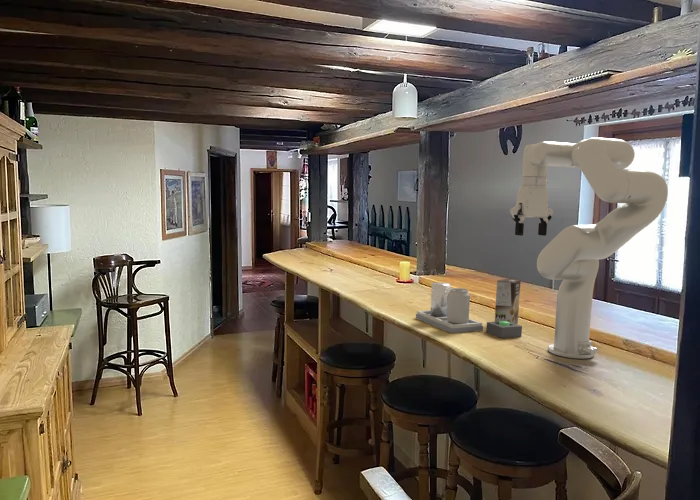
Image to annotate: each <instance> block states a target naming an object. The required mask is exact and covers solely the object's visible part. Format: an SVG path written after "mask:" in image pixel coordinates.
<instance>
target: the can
mask: <svg viewBox="0 0 700 500" xmlns="http://www.w3.org/2000/svg"><path fill="white" fill-rule="evenodd" d="M470 301H471V294H470V293H469V289H467V288H461V287H456V288H455V287H451V289H450V292H449V293H448V306H447V321H448V322H449V323H451V324H453V325H454V324H467V323H468V322H469V319H470V305H471V303H470Z"/></svg>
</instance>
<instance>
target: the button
mask: <svg viewBox="0 0 700 500" xmlns="http://www.w3.org/2000/svg"><path fill="white" fill-rule="evenodd" d="M499 325H502V326H510V322H507V321H499Z"/></svg>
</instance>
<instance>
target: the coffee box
mask: <svg viewBox="0 0 700 500" xmlns="http://www.w3.org/2000/svg"><path fill="white" fill-rule="evenodd" d="M521 282H522V281H521V279H513V278H501V279H499V280H497V281H496V292H495V293H496V295H495V308H494V310H495V312H494V322H495V321H508V322H511V323H514V324H517V325H518V323H519V310H520V297H521Z"/></svg>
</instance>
